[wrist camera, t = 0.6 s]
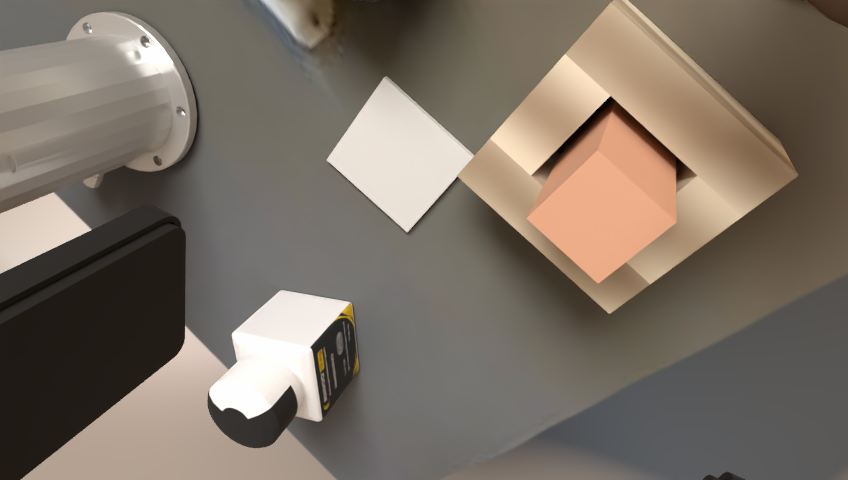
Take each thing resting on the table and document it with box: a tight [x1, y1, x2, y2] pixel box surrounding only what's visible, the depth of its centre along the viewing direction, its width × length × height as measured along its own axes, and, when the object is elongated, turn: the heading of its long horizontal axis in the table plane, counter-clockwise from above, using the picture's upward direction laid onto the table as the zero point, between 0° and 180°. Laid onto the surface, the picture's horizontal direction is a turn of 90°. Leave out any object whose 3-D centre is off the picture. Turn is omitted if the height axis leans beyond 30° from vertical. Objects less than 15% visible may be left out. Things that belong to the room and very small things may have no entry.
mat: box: [327, 76, 474, 232], centre depth 42 cm, size 8×8×1 cm
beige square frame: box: [457, 0, 798, 314], centre depth 33 cm, size 12×12×6 cm
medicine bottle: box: [208, 290, 359, 448], centre depth 47 cm, size 7×7×12 cm
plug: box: [526, 98, 677, 284], centre depth 31 cm, size 4×4×12 cm
